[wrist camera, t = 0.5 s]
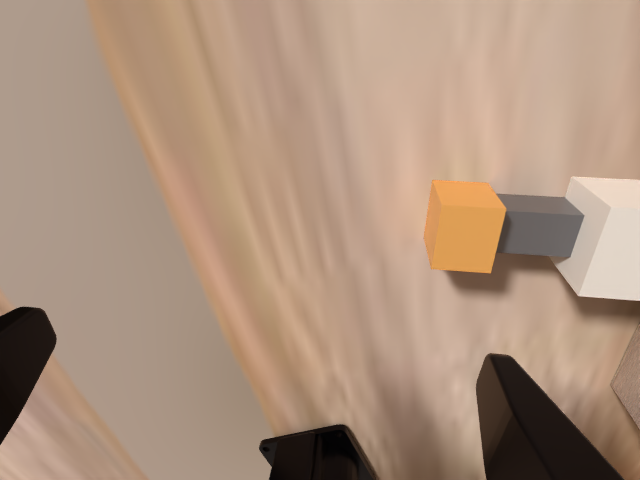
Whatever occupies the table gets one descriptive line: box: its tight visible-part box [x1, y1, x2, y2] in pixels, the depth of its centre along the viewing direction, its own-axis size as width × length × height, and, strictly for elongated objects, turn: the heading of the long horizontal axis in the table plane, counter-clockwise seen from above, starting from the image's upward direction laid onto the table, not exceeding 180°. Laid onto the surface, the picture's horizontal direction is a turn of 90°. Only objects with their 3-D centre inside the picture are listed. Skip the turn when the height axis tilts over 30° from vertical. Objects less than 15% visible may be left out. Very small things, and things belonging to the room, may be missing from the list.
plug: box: [424, 177, 640, 301], centre depth 18 cm, size 10×4×4 cm, turn 88°
